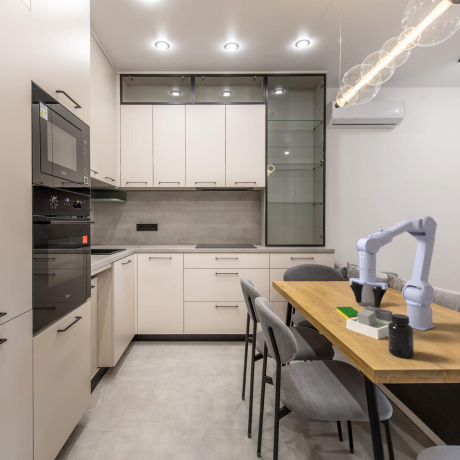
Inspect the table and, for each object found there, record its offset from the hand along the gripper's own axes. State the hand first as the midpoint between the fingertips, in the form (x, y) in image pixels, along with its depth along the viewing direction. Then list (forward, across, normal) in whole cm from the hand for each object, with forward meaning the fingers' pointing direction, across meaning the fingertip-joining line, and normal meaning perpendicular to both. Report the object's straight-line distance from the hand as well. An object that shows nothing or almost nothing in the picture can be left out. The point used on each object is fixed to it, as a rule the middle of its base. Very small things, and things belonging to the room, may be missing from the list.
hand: (367, 304), depth 108 cm
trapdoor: (+8, 0, +3) cm, 8 cm away
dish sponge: (+11, -17, +12) cm, 24 cm away
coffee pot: (+11, -26, +38) cm, 47 cm away
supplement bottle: (+10, +17, -9) cm, 22 cm away
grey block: (+8, 0, 0) cm, 8 cm away
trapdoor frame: (+10, 0, +3) cm, 11 cm away
